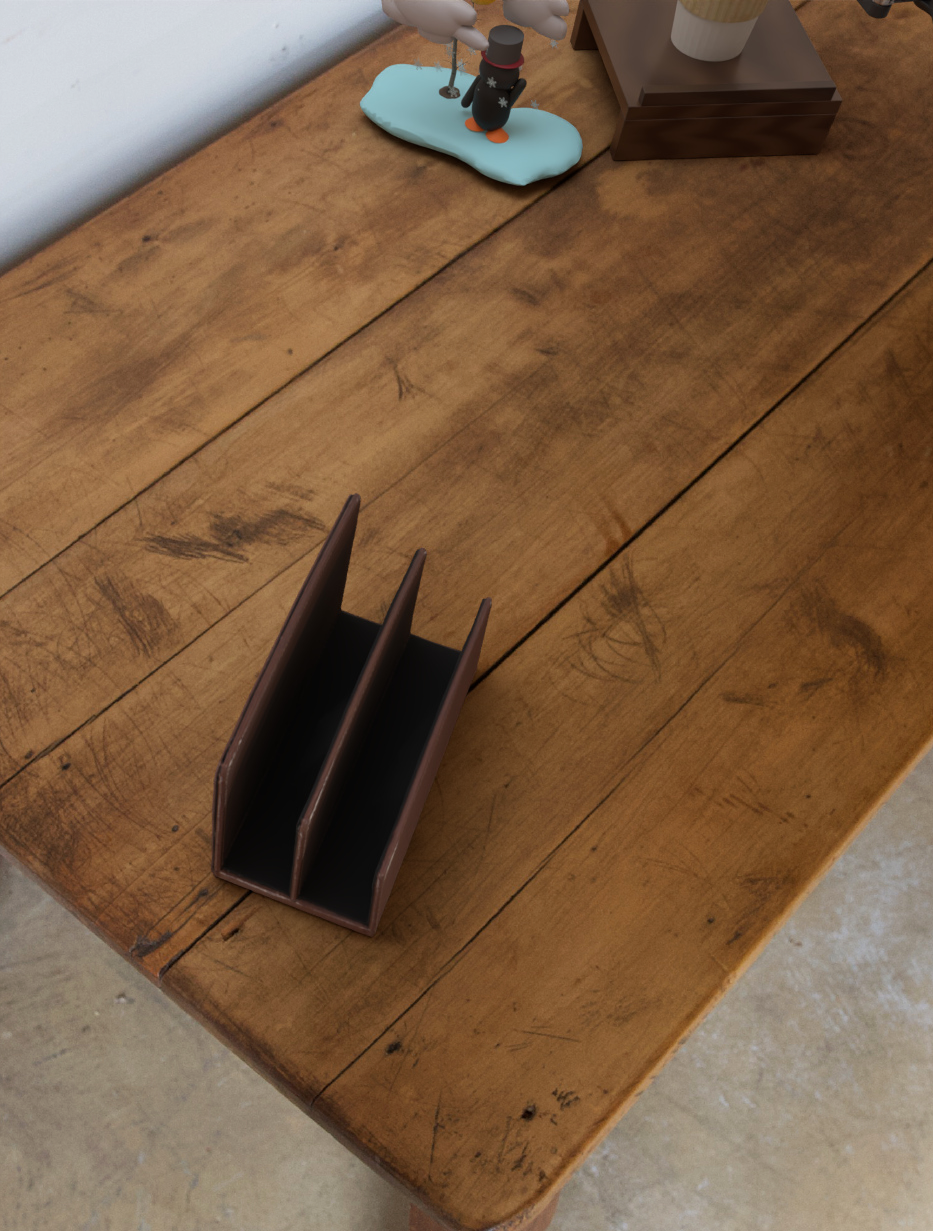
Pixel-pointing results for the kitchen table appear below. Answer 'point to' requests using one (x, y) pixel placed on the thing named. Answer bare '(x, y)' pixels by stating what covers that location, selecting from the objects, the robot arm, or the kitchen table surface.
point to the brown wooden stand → (708, 85)
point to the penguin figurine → (476, 92)
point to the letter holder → (338, 746)
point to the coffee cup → (714, 27)
